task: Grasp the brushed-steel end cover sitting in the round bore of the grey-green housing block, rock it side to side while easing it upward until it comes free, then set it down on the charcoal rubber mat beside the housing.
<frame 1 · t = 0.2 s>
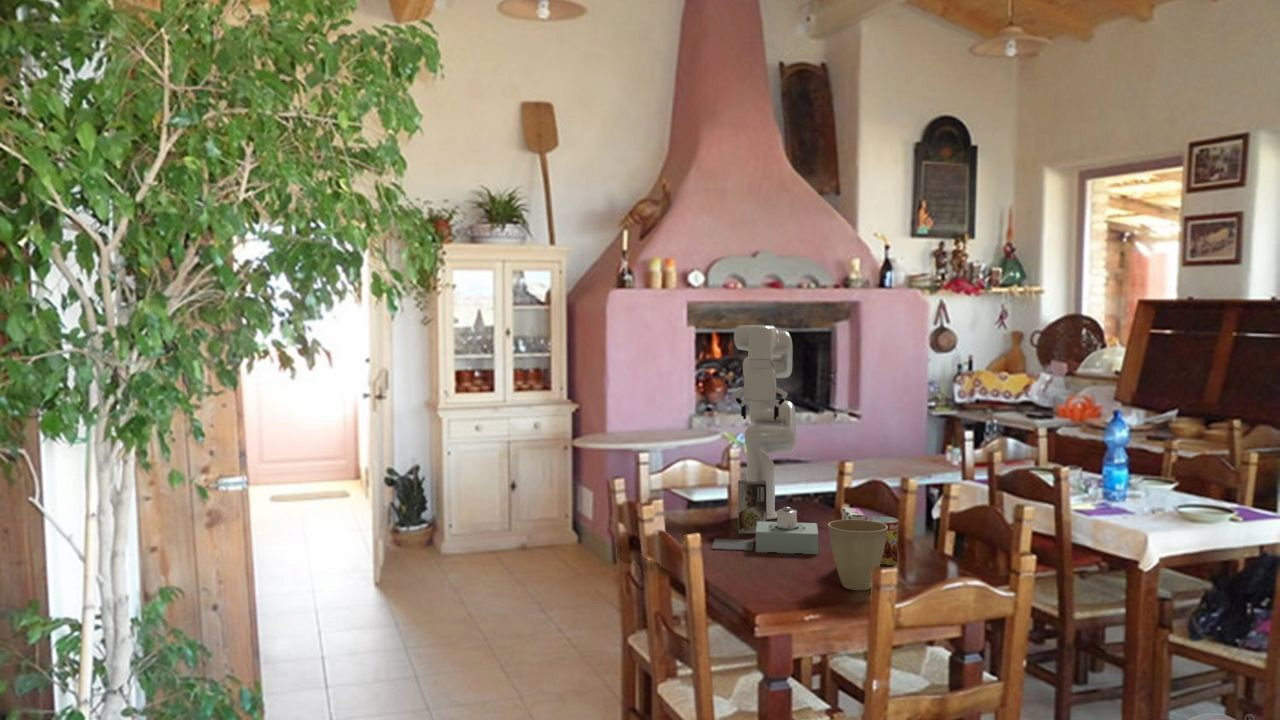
hand: (759, 419, 301), 36 cm above the table, tool pointing down, fingers open, 9 cm apart
candy bar box: (853, 571, 259), on the table
mat: (733, 545, 287), on the table
housing: (786, 547, 285), on the table
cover: (786, 540, 285), point 2 cm above the table, touching housing
canned food: (883, 562, 269), on the table
plant pot: (857, 587, 245), on the table
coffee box: (752, 532, 305), on the table
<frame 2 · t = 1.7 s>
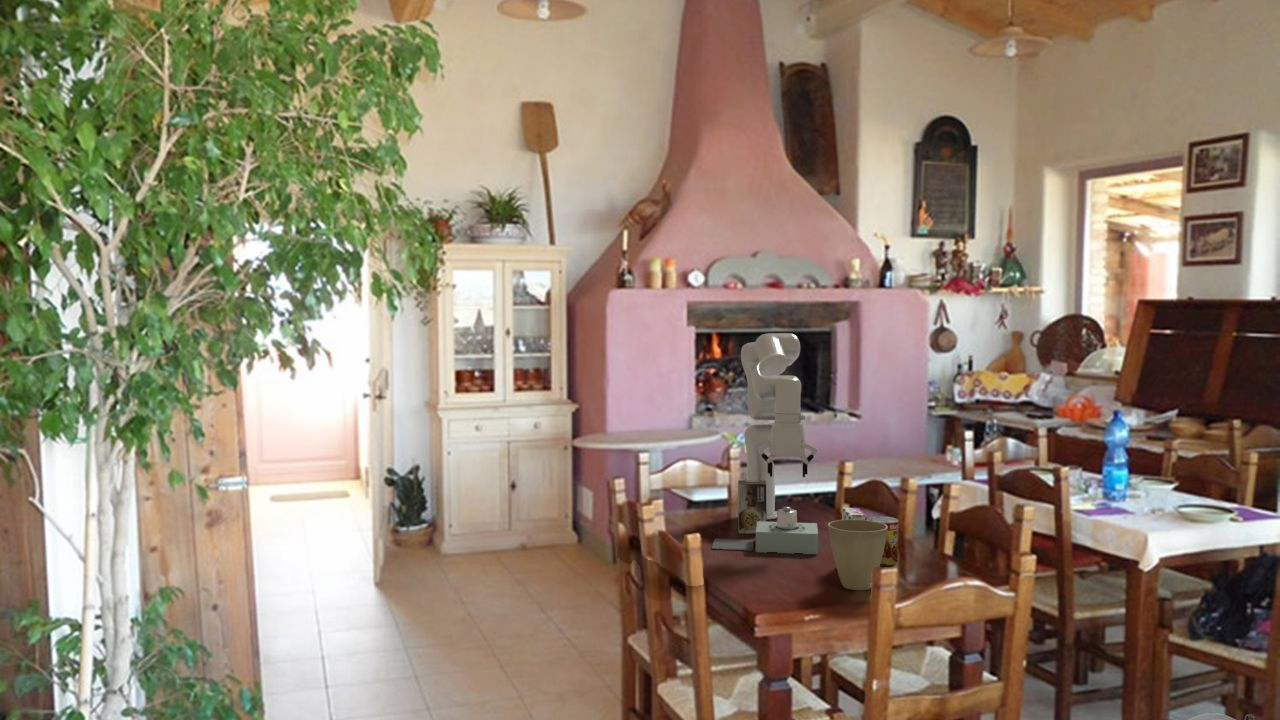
hand: (787, 476, 283), 21 cm above the table, tool pointing down, fingers open, 9 cm apart
nothing on the table moved.
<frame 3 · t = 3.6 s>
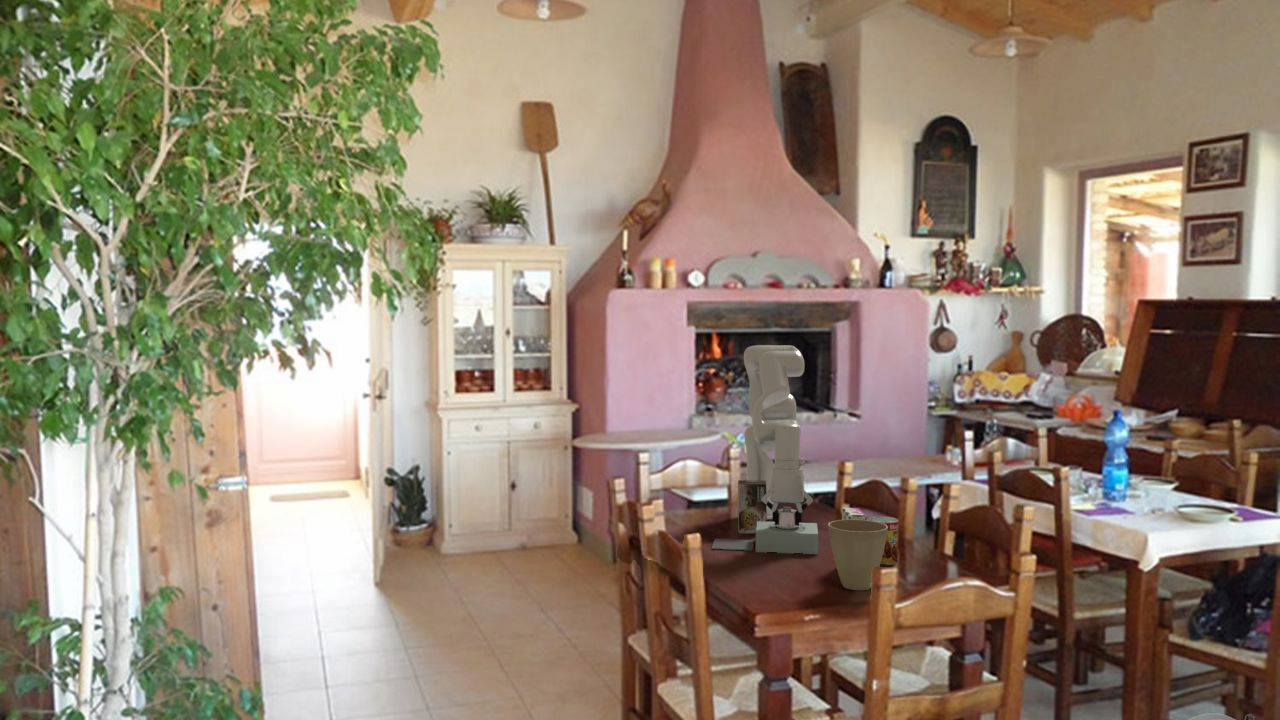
hand: (786, 523, 285), 7 cm above the table, tool pointing down, fingers closed on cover, 5 cm apart
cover: (786, 540, 285), point 2 cm above the table, touching gripper, housing
everything else where it was.
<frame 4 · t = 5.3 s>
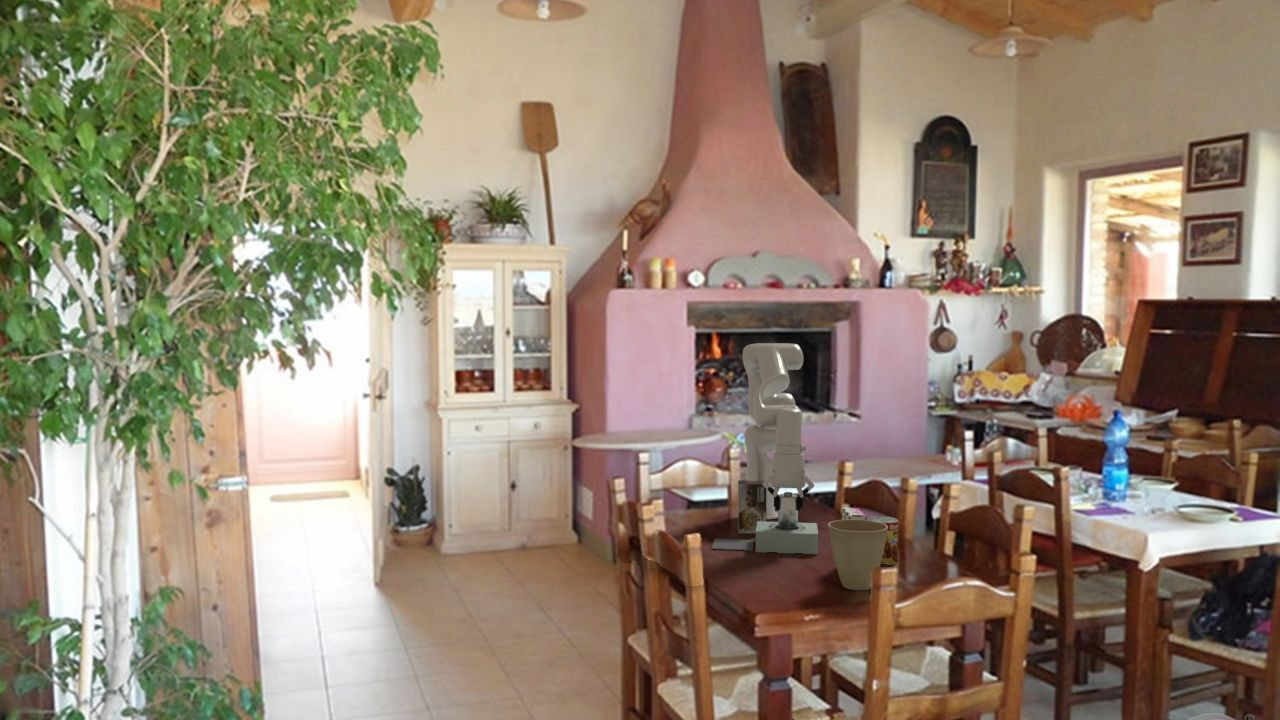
hand: (788, 509, 284), 12 cm above the table, tool pointing down, fingers closed on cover, 5 cm apart
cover: (787, 525, 285), point 6 cm above the table, touching gripper
everything else where it was.
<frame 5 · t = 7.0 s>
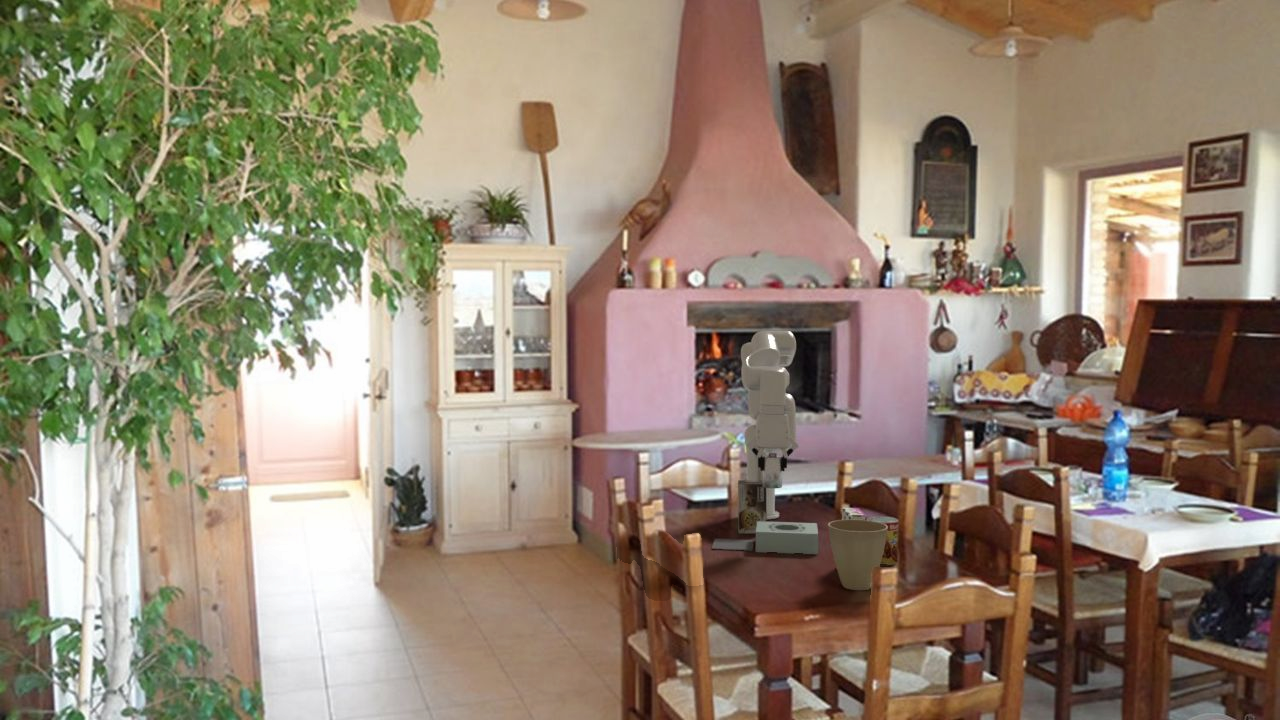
hand: (772, 469, 284), 23 cm above the table, tool pointing down, fingers closed on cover, 5 cm apart
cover: (772, 486, 285), point 18 cm above the table, touching gripper
everything else where it was.
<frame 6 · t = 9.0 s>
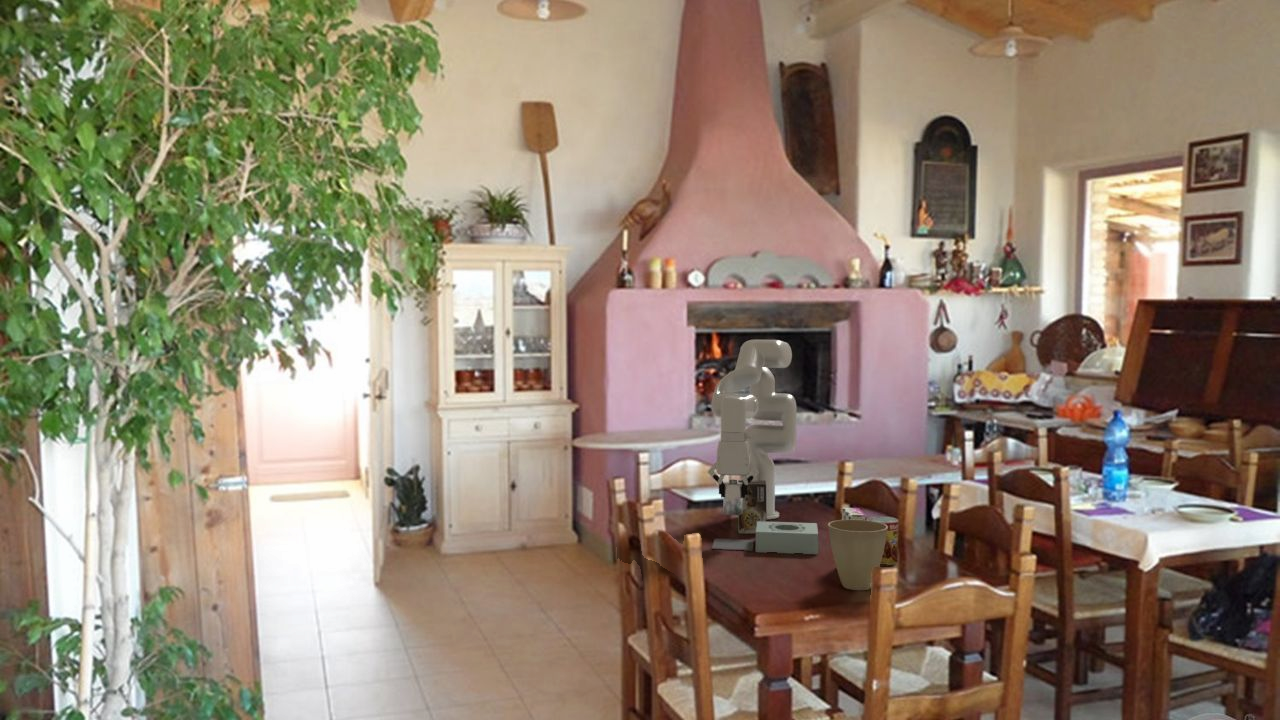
hand: (733, 496, 286), 15 cm above the table, tool pointing down, fingers closed on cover, 5 cm apart
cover: (733, 513, 287), point 10 cm above the table, touching gripper
everything else where it was.
when the fingers open (7 cm above the table, at t = 10.7 s): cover drops 1 cm, resting on mat.
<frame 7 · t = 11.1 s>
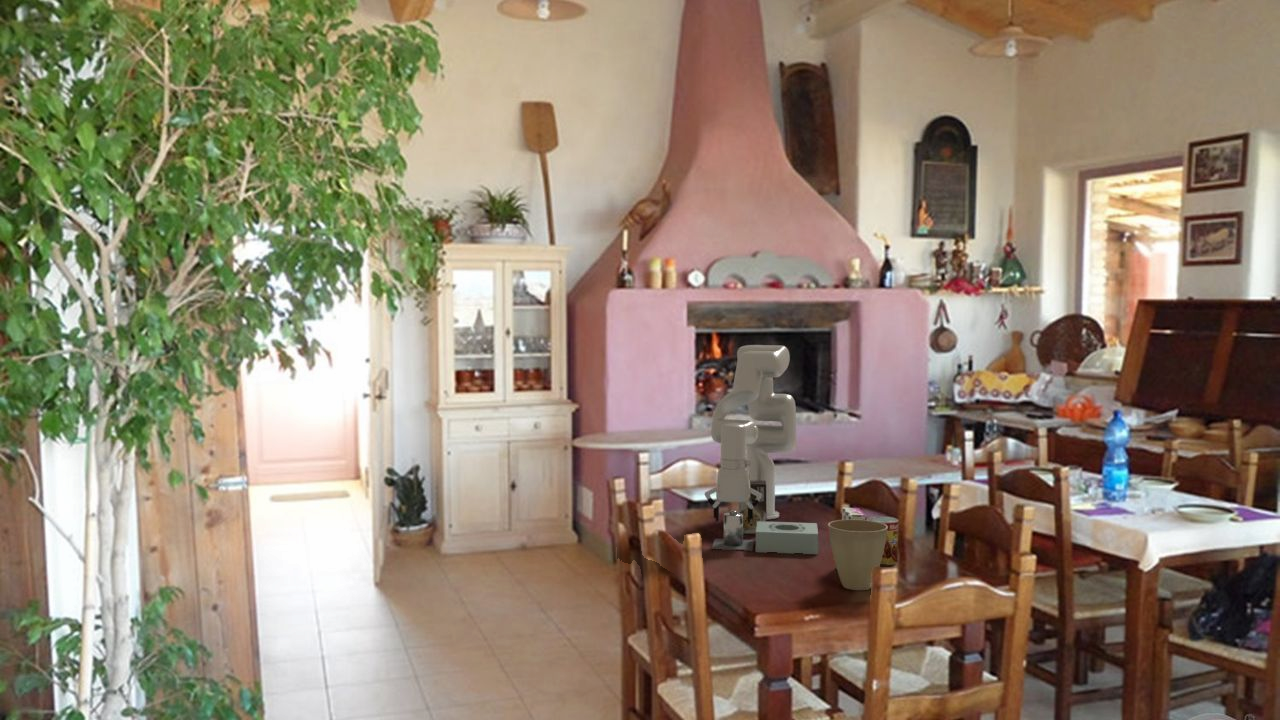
hand: (733, 520, 287), 7 cm above the table, tool pointing down, fingers open, 9 cm apart
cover: (733, 543, 287), resting on mat
everything else where it was.
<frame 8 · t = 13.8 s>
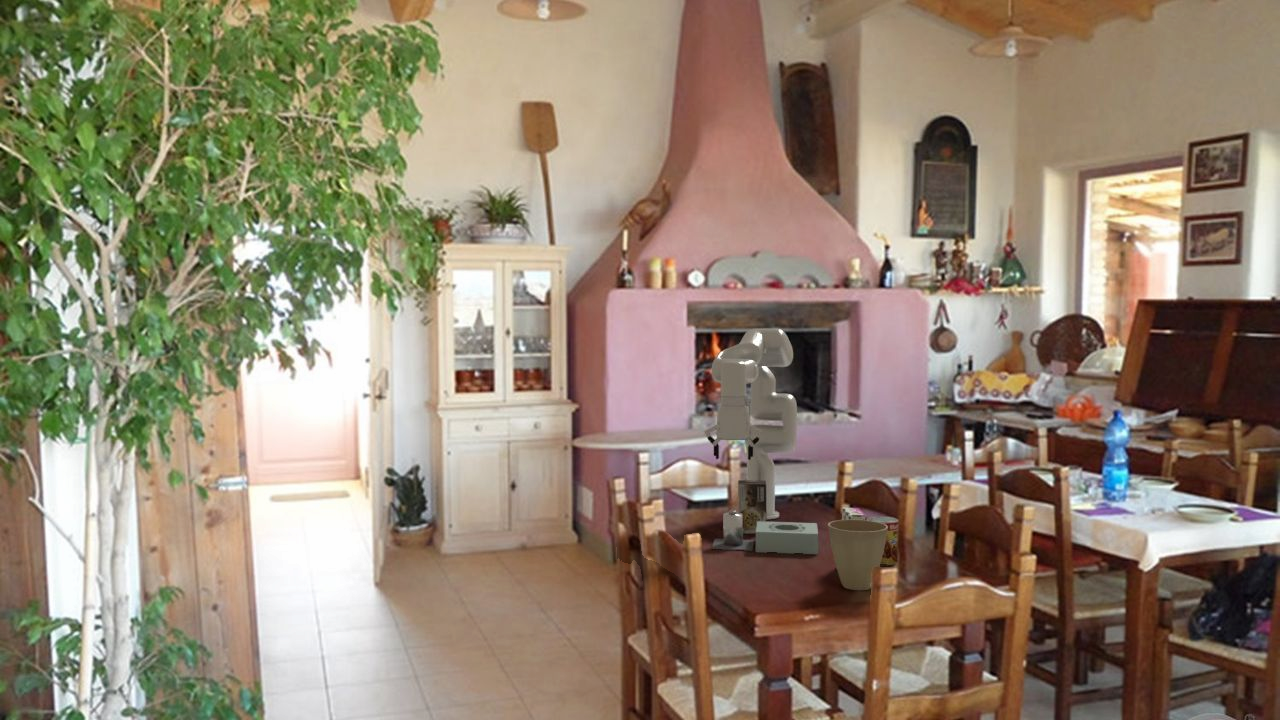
hand: (733, 458, 286), 26 cm above the table, tool pointing down, fingers open, 9 cm apart
nothing on the table moved.
at the end: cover inside the target area on the mat (0.1 cm from its centre), point 0.5 cm above the mat's base; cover tilted 1°; the gripper is holding nothing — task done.
